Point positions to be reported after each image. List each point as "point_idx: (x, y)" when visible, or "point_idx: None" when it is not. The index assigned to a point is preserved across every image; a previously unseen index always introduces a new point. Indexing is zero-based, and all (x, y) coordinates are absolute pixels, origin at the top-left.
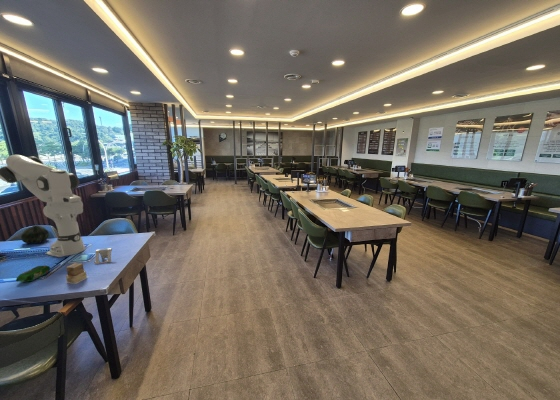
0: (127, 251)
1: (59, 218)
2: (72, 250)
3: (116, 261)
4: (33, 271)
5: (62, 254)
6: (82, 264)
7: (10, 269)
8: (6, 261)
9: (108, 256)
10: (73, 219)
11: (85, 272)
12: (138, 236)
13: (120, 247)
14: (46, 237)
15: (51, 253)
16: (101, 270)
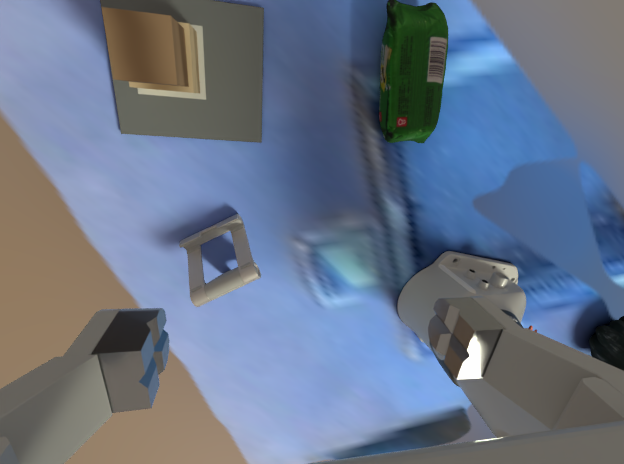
0: (208, 339)
1: (460, 325)
2: (422, 289)
3: (167, 256)
4: (405, 60)
5: (445, 265)
6: (115, 76)
7: (549, 138)
8: (606, 194)
9: (197, 263)
10: (77, 338)
11: (131, 84)
12: (285, 442)
13: (273, 360)
14: (594, 354)
15: (493, 265)
16: (152, 170)
